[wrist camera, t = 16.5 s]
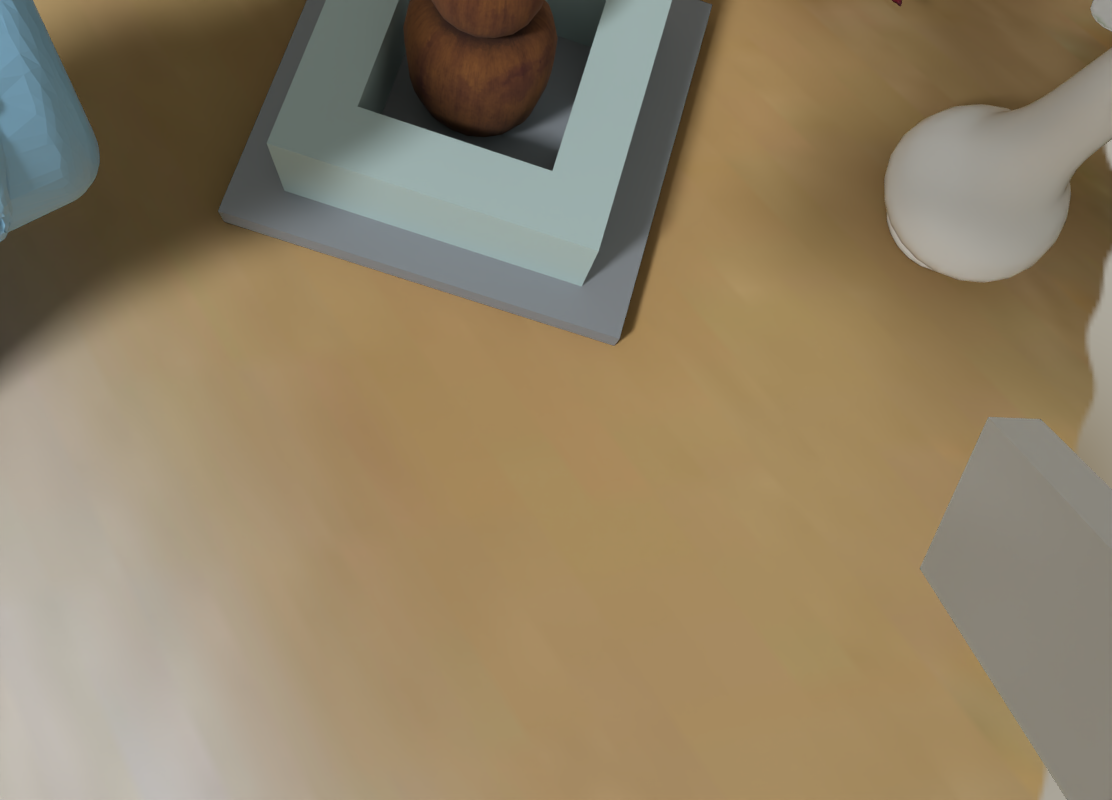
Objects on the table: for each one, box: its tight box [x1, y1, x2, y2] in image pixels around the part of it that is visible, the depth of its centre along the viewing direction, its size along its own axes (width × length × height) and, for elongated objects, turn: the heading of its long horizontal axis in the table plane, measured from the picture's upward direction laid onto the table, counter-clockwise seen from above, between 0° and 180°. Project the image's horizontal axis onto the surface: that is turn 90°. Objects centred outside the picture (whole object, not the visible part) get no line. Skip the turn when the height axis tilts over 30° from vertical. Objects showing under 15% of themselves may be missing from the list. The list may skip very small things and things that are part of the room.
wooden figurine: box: [403, 0, 558, 137], centre depth 36 cm, size 7×6×15 cm
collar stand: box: [218, 0, 712, 346], centre depth 42 cm, size 20×20×6 cm
